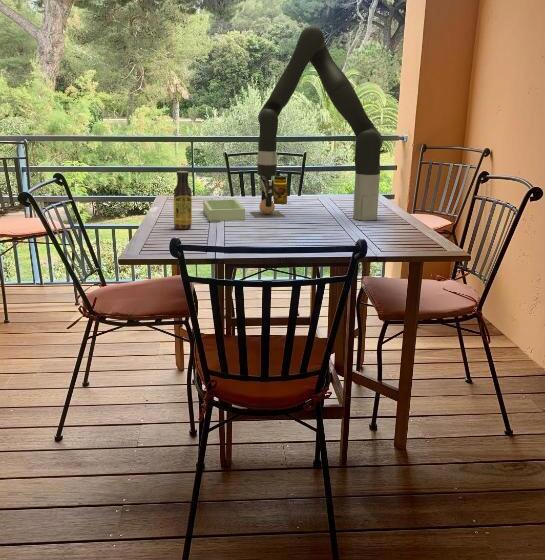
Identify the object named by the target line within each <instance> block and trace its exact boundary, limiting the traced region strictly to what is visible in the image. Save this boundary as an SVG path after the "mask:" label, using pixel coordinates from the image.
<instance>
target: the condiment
mask: <svg viewBox="0 0 545 560" xmlns="http://www.w3.org/2000/svg"><path fill="white" fill-rule="evenodd" d="M273 177H274V179H273V181H274V195H273V196H272V199H273V200H272V201H273V202H274V204H281V205H291V203H290V202H288V182H287V176H286V175H275V176H273ZM287 203H288V204H287Z"/></svg>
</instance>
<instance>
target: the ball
mask: <svg viewBox="0 0 545 560" xmlns="http://www.w3.org/2000/svg"><path fill="white" fill-rule="evenodd" d="M273 202H274V201H273V200H272V206H271V207H266V199H264V200H263V201H261V200H260V202H259V210H260V211H259V212H262V213H263V214H271V213H272V212H273V211H275V209H276V208H275V207H276V205H274V203H273Z"/></svg>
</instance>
